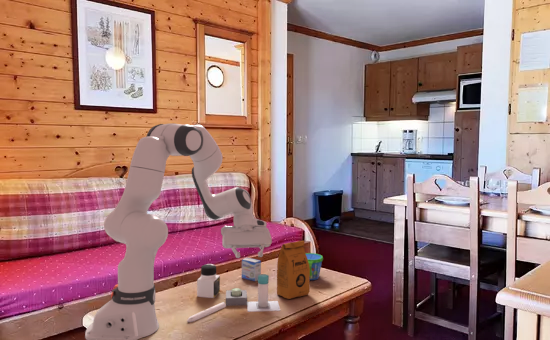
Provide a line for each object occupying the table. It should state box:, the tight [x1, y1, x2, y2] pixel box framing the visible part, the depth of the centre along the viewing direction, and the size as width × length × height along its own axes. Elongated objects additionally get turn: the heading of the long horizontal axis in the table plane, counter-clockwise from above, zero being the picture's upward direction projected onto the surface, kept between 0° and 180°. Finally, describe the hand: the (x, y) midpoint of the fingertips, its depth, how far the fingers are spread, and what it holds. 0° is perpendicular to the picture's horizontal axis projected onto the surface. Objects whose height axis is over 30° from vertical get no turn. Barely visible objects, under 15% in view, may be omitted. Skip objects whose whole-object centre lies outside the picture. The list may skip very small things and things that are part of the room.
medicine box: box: [241, 257, 262, 282], centre depth 188 cm, size 8×4×9 cm, turn 55°
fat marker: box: [257, 273, 270, 308], centre depth 157 cm, size 4×4×12 cm
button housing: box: [225, 289, 248, 307], centre depth 162 cm, size 8×8×3 cm
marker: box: [186, 301, 227, 323], centre depth 150 cm, size 18×2×2 cm, turn 143°
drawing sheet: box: [246, 300, 281, 313], centre depth 158 cm, size 12×9×1 cm
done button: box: [231, 287, 242, 296], centre depth 162 cm, size 4×4×3 cm
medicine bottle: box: [196, 263, 221, 299], centre depth 169 cm, size 7×7×12 cm
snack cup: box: [305, 252, 324, 281], centre depth 190 cm, size 16×10×10 cm
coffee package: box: [276, 240, 311, 300], centre depth 169 cm, size 10×12×22 cm
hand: (249, 256), depth 167 cm, fingers open, 8 cm apart
